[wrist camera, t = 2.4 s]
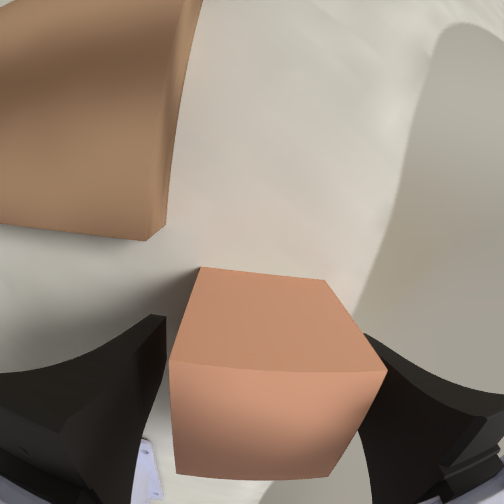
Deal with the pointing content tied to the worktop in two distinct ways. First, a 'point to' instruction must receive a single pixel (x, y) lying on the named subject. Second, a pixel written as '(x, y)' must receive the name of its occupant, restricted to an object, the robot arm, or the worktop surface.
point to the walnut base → (91, 112)
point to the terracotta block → (267, 378)
